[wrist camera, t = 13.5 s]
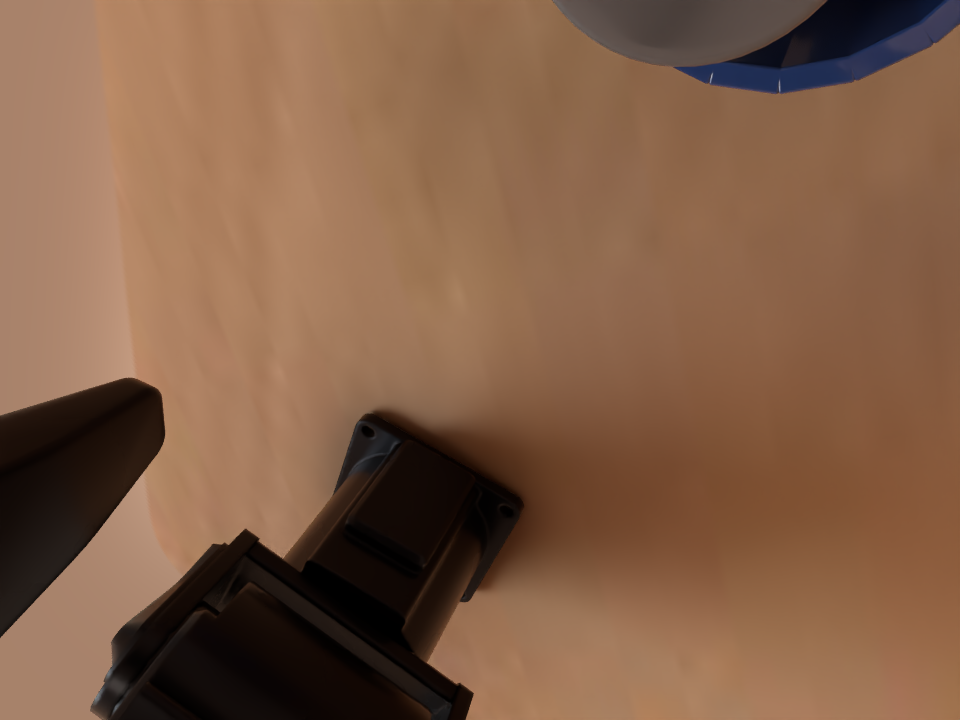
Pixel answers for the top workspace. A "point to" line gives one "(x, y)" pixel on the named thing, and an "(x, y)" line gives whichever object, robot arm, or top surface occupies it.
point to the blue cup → (837, 46)
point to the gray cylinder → (686, 27)
